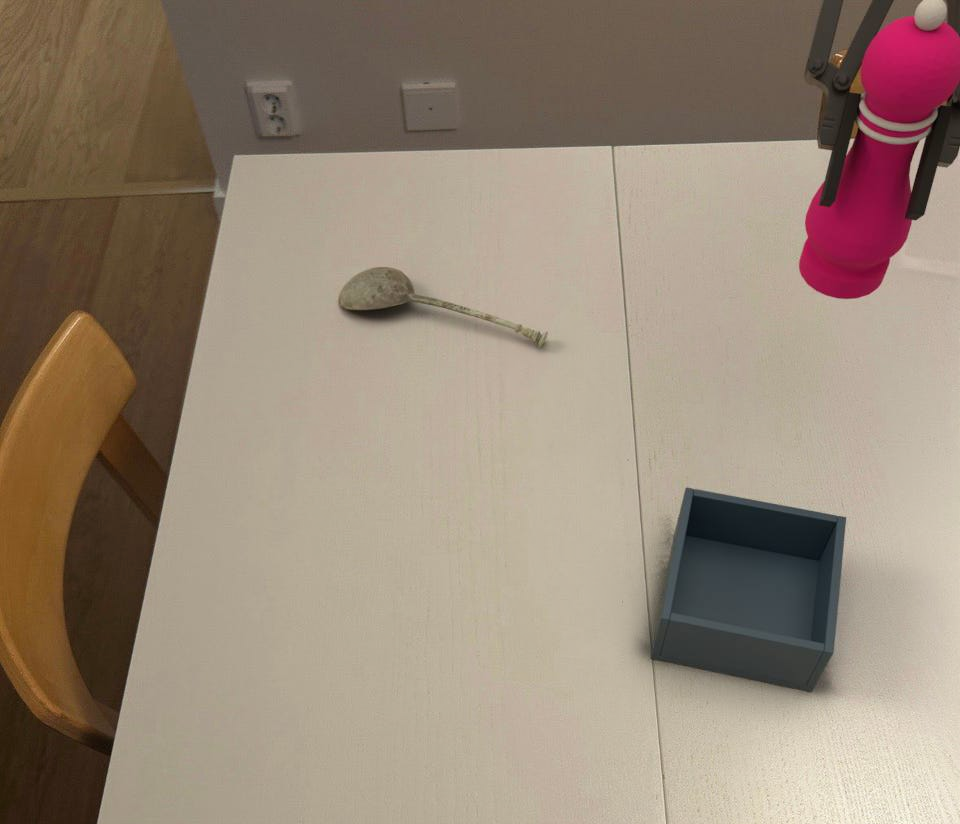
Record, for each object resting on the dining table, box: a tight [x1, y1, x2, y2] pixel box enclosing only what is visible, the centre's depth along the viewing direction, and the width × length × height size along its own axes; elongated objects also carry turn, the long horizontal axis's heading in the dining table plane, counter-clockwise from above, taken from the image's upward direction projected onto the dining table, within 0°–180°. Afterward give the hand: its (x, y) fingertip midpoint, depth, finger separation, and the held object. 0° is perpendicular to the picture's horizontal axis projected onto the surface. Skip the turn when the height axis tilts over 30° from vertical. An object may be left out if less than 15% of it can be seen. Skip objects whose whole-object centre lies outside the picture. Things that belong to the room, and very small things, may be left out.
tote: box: [649, 487, 847, 693], centre depth 85 cm, size 13×13×6 cm
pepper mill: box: [798, 0, 960, 300], centre depth 71 cm, size 7×7×20 cm
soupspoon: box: [338, 266, 549, 349], centre depth 105 cm, size 22×3×7 cm
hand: (870, 209), depth 71 cm, fingers closed on pepper mill, 5 cm apart
